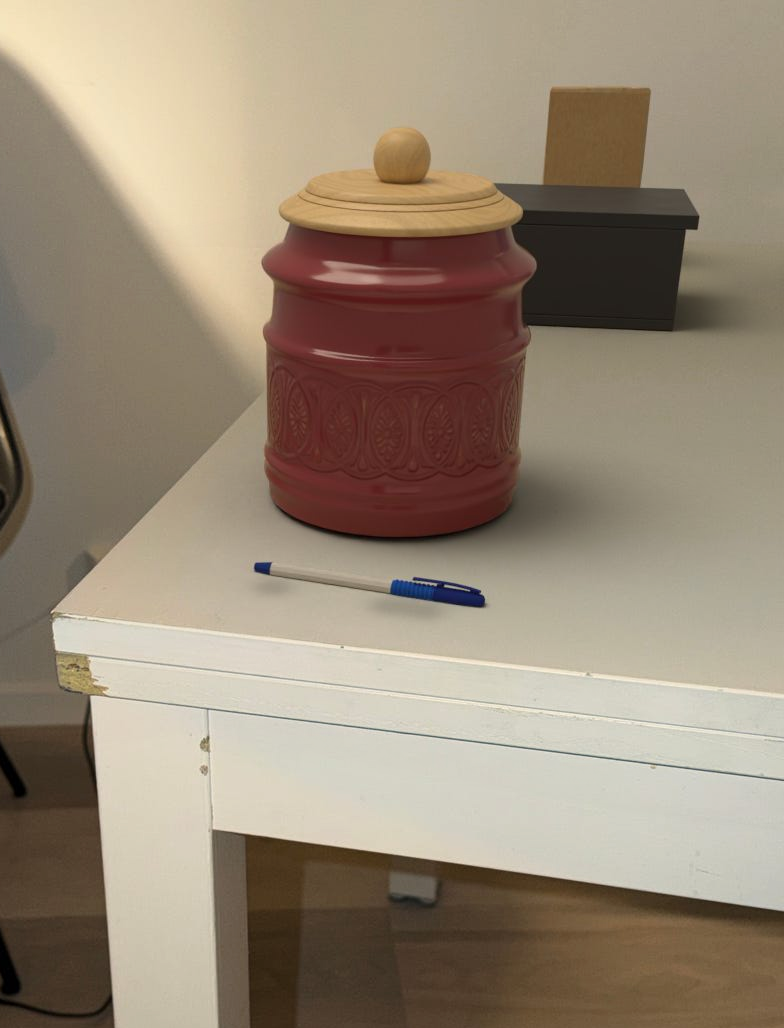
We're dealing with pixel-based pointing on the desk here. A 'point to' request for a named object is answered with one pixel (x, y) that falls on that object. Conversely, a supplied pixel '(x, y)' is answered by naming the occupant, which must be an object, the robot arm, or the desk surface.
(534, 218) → the black box cover
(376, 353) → the kitchen canister
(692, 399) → the desk surface
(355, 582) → the ballpoint pen
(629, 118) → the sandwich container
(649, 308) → the dark grey storage bin
